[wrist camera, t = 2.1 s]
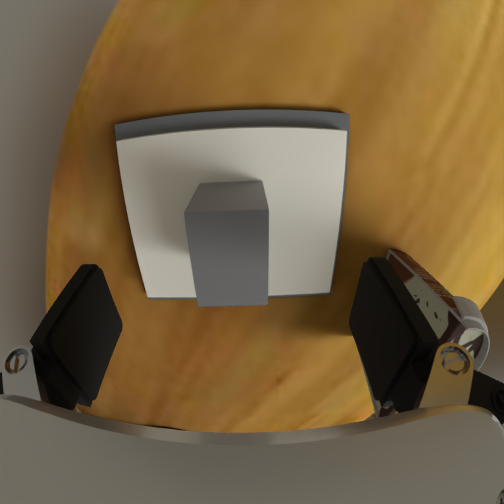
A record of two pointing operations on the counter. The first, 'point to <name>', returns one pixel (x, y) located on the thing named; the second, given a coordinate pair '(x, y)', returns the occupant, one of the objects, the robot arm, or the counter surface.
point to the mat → (239, 120)
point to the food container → (439, 315)
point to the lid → (235, 211)
